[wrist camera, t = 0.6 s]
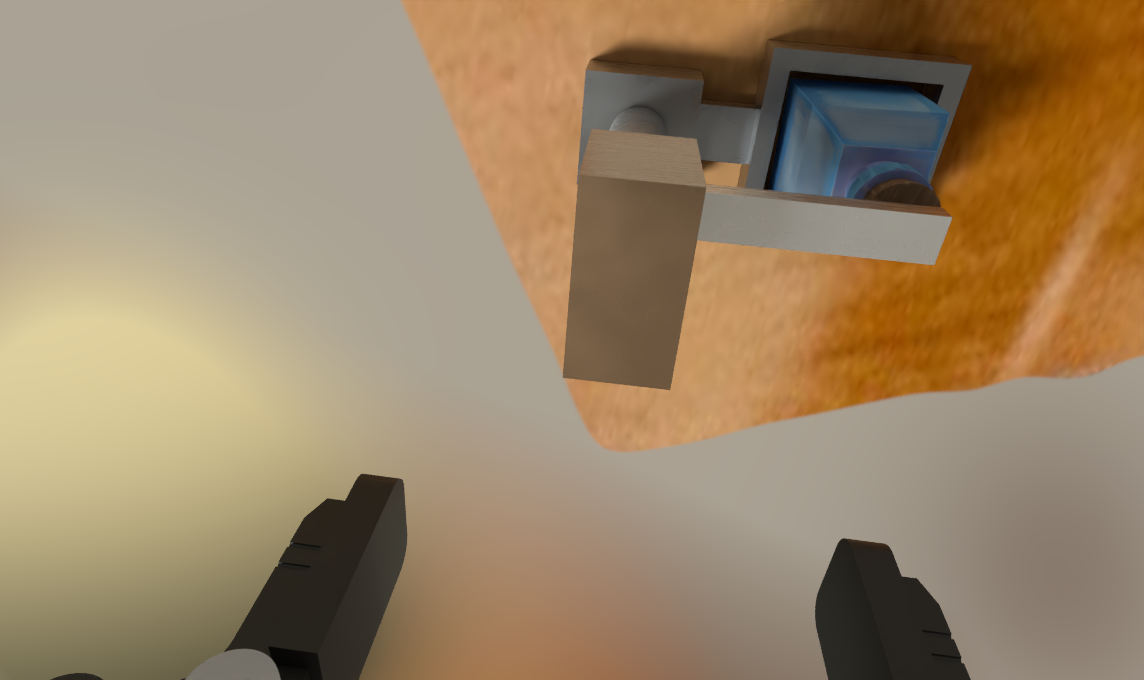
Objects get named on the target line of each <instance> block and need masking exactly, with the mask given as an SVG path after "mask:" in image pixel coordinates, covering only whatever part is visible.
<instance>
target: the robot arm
mask: <svg viewBox="0 0 1144 680" xmlns="http://www.w3.org/2000/svg"><path fill="white" fill-rule="evenodd" d="M404 495H405V494H404V483H403V480H402V479H398V478H390V477H383V476H375V475H368V474H361V475H360V476H359V477H358V478H357V480H356V481H355V483H354V485H353V487H352V489H351V491H350V493H349V495H348V497H347V498H346V500H345V501H342V500H334V499H326V500H325V501H324V502H323V503H321V504H320V505H319V506H318V507H317V508H315V509H314V510H313V511H312V512H311V513H309V514H308V515H307V516H306V517H305V518H304V519H303V521H302V522H301V524H300V526H299V528H298V529H297V531H296V533H295V534H294V536H293V538H292V540H291V541H290V546H289V547H287V548H286V550H285V552H284V553H283V555H282V557H281V558H280V560H279V564H278V567H275V569H274V571H273V572H272V574H271V576H270V578H269V579H268V581H267V583H266V584H265V586H264V588H263V589H262V591H261V593H260V595H259V597H258V598H257V600H256V601H255V603H254V605H253V607H252V608H251V610H250V612H249V613H248V615H247V617H246V619H245V620H244V622H243V624H242V625H241V627H240V629H239V631H238V632H237V634H236V636H235V638H234V639H233V641H232V642H231V644H230V645H229V647H228V648H227V649H226V650H225V651H224V652H223V653H220V654H218V655H216V656H214V657H212V658H210V659H208V660H207V661H205V662H203V663H202V664H201V665H199V666H198V667H197V668H196V669H194V670H193V672H191V674H189V676H188V677H187V678H184V679H181V680H359V677H360V674H361V672H362V669H363V667H364V664H365V662H366V659H367V656H368V654H369V651H370V649H371V646H372V644H373V641H374V638H375V636H376V633H377V630H378V628H379V625H380V623H381V620H382V618H383V615H384V612H385V610H386V607H387V605H388V602H389V600H390V597H391V594H392V592H393V589H394V586H395V584H396V581H397V579H398V576H399V574H400V571H401V568H402V565H403V561H404V557H405V552H406V546H407V525H406V511H405V496H404ZM815 620H816V628H817V633H818V637H819V641H820V645H821V650H822V654H823V658H824V662H825V667H826V671H827V676H828V680H971V679H970V677H969V675H968V672H967V670H966V668H965V665H964V664H963V663H961V656H960V653H959V651H958V648H957V646H956V644H955V641H954V640H953V639H951V632H950V629H949V627H948V624H947V622H946V620H945V617H944V615H943V613H942V610H941V608H940V606H939V604H938V603H937V602H936V601H935V599H934V598H933V597H932V596H931V595H930V593H929V592H928V591H927V590H926V589H925V588H924V586H923V585H922V584H921V583H920V582H919V580H918V579H917V578H909V577H902V576H901V574H900V571H899V568H898V566H897V563H896V561H895V558H894V555H893V553H892V551H891V549H890V547H889V546H888V545H886V544H882V543H875V542H867V541H859V540H852V539H841V540H840V541H839V543H838V545H837V547H836V549H835V552H834V554H833V557H832V559H831V562H830V564H829V566H828V569H827V571H826V574H825V577H824V579H823V581H822V584H821V586H820V589H819V591H818V594H817V599H816V607H815ZM51 680H103V679H101V678H100V677H98V676H95V675H92V674H87V673H74V674H68V675H63V676H60V677H56V678H53V679H51Z"/></svg>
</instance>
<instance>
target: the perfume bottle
mask: <svg viewBox="0 0 1144 680" xmlns="http://www.w3.org/2000/svg"><path fill="white" fill-rule="evenodd" d="M949 116H950V113H949V112H948V111H946V110H944V109H943V108H941V107H940V106H938V105H937V104H935V103H934V102H932V101H931V100H929V99H928V98H926V97H925V96H923V95H921V94H920V93H918V92H917V91H915V90H914V89H912V88H911V87H909V86H908V85H892V84H875V83H859V82H842V81H826V80H810V79H793V78H790V80H789V85H788V90H787V95H786V101H785V106H784V111H783V116H782V121H781V126H780V131H779V136H778V141H777V146H776V152H775V157H774V162H773V167H772V172H771V177H770V182H769V187H768V190H772V191H782V192H792V193H802V194H811V195H821V196H831V197H841V198H851V199H861V200H871V201H881V202H891V203H900V204H910V205H920V206H930V207H940V208H941V205H940V200H939V198H938V197H937V196H936V194H935V193H934V191H933V188H932V186H931V185H930V184H929V182H928V181H929V178H930V175H931V172H932V169H933V166H934V163H935V160H936V156H937V153H938V150H939V147H940V144H941V141H942V138H943V135H944V131H945V128H946V125H947V122H948V119H949Z"/></svg>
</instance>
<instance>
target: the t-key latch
mask: <svg viewBox="0 0 1144 680" xmlns="http://www.w3.org/2000/svg"><path fill="white" fill-rule="evenodd" d="M951 220H952V216H951V215H950V214H949V213H948V212H947V211H946V210H945V209H944V208H940V207H930V206H920V205H910V204H900V203H891V202H881V201H871V200H861V199H851V198H841V197H831V196H821V195H811V194H802V193H792V192H782V191H772V190H762V189H752V188H742V187H732V186H722V185H713V184H706V182H705V177H704V172H703V168H702V163H701V158H700V153H699V148H698V144H697V139H692V138H682V137H672V136H666V128H665V125H664V123H663V121H662V120H661V118H660V117H659V116H658V115H657V114H656V113H655V112H653V111H652V110H649V109H647V108H642V107H634V108H630V109H627V110H625V111H623V112H622V113H620V114H619V115H618V116H617V117H616V118H615V120H614V121H613V123H612V125H611V127H610V130H601V129H591V133H590V136H589V140H588V143H587V147H586V151H585V154H584V158H583V161H582V165H581V168H580V172H579V179H578V191H577V204H576V217H575V229H574V242H573V255H572V268H571V280H570V293H569V306H568V318H567V331H566V344H565V357H564V369H563V378H570V379H579V380H588V381H597V382H605V383H614V384H623V385H631V386H640V387H649V388H658V389H666V390H670V388H671V382H672V377H673V371H674V365H675V360H676V354H677V349H678V343H679V338H680V332H681V327H682V321H683V315H684V310H685V304H686V299H687V293H688V288H689V282H690V277H691V271H692V266H693V260H694V254H695V249H696V243H697V240H700V241H710V242H719V243H729V244H738V245H748V246H757V247H767V248H776V249H786V250H795V251H805V252H814V253H824V254H833V255H843V256H853V257H862V258H872V259H881V260H891V261H900V262H910V263H919V264H929V265H934V264H935V261H936V259H937V256H938V254H939V251H940V248H941V246H942V243H943V241H944V238H945V235H946V233H947V230H948V228H949V225H950V222H951Z"/></svg>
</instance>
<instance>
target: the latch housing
mask: <svg viewBox="0 0 1144 680" xmlns="http://www.w3.org/2000/svg"><path fill="white" fill-rule="evenodd" d="M971 68H972V65H970V64H968V63H966V62H964V61H962V60H959V59H957V58H955V57H951V56H940V55H929V54H918V53H907V52H896V51H885V50H874V49H864V48H853V47H842V46H831V45H820V44H809V43H798V42H787V41H776V40H767V44H766V49H765V53H764V58H763V63H762V68H761V73H760V78H759V83H758V88H757V93H756V98H755V102H754V104H747V103H736V102H726V101H715V100H705V99H701V97H702V91H703V85H704V79H703V76H702V73H701V70H694V69H684V68H673V67H663V66H652V65H641V64H631V63H620V62H609V61H599V60H590V62H589V64H588V66H587V69H586V75H585V88H584V101H583V114H582V127H581V140H580V152H579V165H578V178H577V184H578V179H579V172H580V168H581V165H582V161H583V158H584V154H585V151H586V147H587V143H588V140H589V136H590V133H591V129H601V130H610V127H611V125H612V123H613V121H614V120H615V118H616V117H617V116H618V115H619V114H620V113H622V112H623V111H625V110H627V109H630V108H634V107H642V108H647V109H649V110H652V111H653V112H655V113H656V114H657V115H658V116H659V117H660V118H661V120H662V121H663V123H664V125H665V128H666V136H672V137H682V138H692V139H697V144H698V148H699V153H700V158H701V160H707V161H717V162H727V163H737V164H742V166H741V171H740V176H739V181H738V186H737V187H742V188H752V189H762V190H763V189H764V184H765V180H766V175H767V171H768V166H769V162H770V158H771V153H772V149H773V144H774V140H775V135H776V131H777V126H778V122H779V118H780V113H781V109H782V104H783V100H784V95H785V91H786V87H787V82H788V78H789V73H790V70H791V71H801V72H812V73H823V74H834V75H844V76H855V77H866V78H876V79H887V80H898V81H909V82H919V83H924V86H923V89H922V92H921V95H923V96H925V97H926V98H928V99H929V100H931V101H932V102H934V103H935V104H937V105H938V106H940V107H941V108H943V109H944V110H946V111H948V112H949V113H950V116H949V119H948V122H947V125H946V128H945V131H944V135H943V138H942V141H941V144H940V147H939V150H938V153H937V156H936V160H935V163H934V166H933V169H932V172H931V175H930V178H929V181H928V182H929V184H930V183H931V180H932V177H933V175H934V172H935V169H936V166H937V163H938V161H939V158H940V155H941V152H942V149H943V147H944V144H945V141H946V138H947V135H948V132H949V130H950V127H951V124H952V121H953V118H954V116H955V113H956V110H957V107H958V104H959V102H960V99H961V96H962V93H963V90H964V87H965V85H966V82H967V79H968V76H969V73H970V71H971Z"/></svg>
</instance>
